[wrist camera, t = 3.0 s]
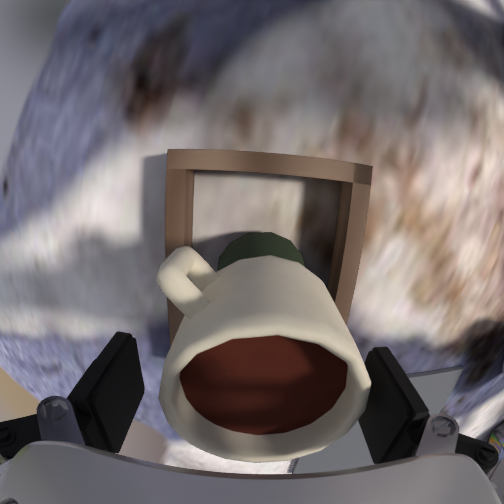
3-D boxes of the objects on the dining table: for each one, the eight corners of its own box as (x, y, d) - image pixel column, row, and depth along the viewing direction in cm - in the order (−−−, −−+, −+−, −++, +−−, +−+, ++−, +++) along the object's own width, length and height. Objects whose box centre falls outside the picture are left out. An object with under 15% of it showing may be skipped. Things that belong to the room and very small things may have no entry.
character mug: (174, 246, 20) (75, 352, 8) (249, 180, 19) (234, 204, 6) (269, 346, 22) (276, 490, 10) (342, 295, 21) (415, 424, 8)
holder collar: (359, 165, 18) (372, 166, 16) (324, 364, 23) (330, 383, 20) (178, 151, 18) (167, 149, 16) (180, 355, 23) (173, 373, 20)
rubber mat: (461, 365, 23) (463, 368, 23) (404, 457, 28) (405, 460, 28) (323, 379, 23) (324, 384, 23) (292, 472, 28) (292, 475, 28)
